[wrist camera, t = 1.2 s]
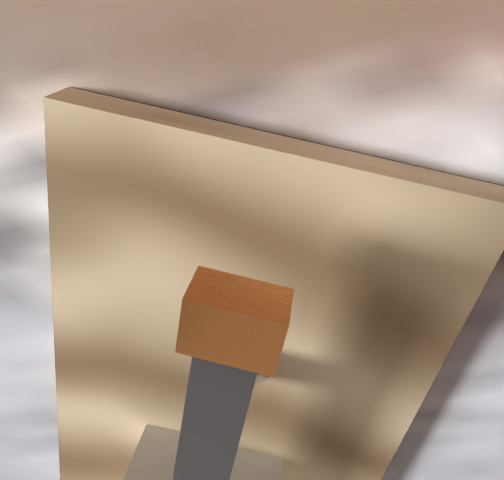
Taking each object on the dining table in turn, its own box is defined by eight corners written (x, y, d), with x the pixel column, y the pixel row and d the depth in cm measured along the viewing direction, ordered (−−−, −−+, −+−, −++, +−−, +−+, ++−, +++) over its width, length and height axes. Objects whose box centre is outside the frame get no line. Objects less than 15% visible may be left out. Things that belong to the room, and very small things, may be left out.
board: (323, 556, 25) (323, 587, 24) (75, 489, 26) (62, 516, 25) (508, 187, 14) (525, 208, 13) (68, 87, 15) (43, 97, 14)
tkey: (240, 456, 20) (215, 580, 16) (186, 441, 20) (147, 561, 16) (303, 225, 14) (288, 325, 10) (226, 207, 14) (182, 299, 10)
